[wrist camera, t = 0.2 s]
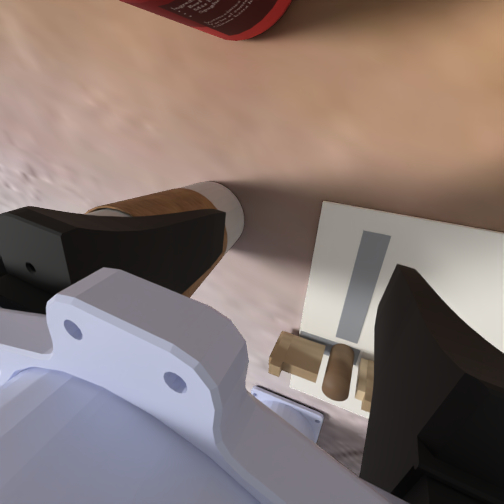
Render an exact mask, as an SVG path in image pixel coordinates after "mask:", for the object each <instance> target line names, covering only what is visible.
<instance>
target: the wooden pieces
mask: <svg viewBox="0 0 504 504" xmlns="http://www.w3.org/2000/svg"><path fill="white" fill-rule="evenodd" d="M324 350H325V345H322V344H319V343H316V342H313V341H310V340H307V339H304V338H302V337H299V336H296V335H294V334H291V333H288V332H284V331H282V332H281V334H280V336H279V338H278V340H277V342H276V344H275V346H274V349H273V351H272V353H271V355H270V357H269V372H268V373H270V374H273V375H275V376H278V377H279V375H280V373H281V371H282V370H283V371H285V372H288V373H291V374H293V375H296V376H298V377H301V378H304V379H306V380H309V381H311V382H314V383H316V380H317V376H318V373H319V369H320V365H321V362H322V358H323V354H324ZM354 356H355V354H354V351H353V350H352V348H350V346H348V345H346V344H342V343H340V344H335V345H333V346H332V348H331V351H330V355H329V359H328V363H327V367H326V371H325V375H324V379H323V383H322V392H323V393H324V395H325V396H327V397H328V398H329V399H331V400H334V401H345V400H346V399H347V398H348V396H349V390H350V383H351V376H352V370H353V363H354Z"/></svg>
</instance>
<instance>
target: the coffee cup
mask: <svg viewBox="0 0 504 504" xmlns="http://www.w3.org/2000/svg"><path fill="white" fill-rule="evenodd" d="M200 209H216V210H220V211H223V212H226V219H225V230H224V241H223V252H222V253H221V255H220V256H219V258H218V259H217V260H216V262H215V263H214V264H213V265H212V266H211V268H210V269H209V270H207V271H206V272H205V273H204V274H203V275H202V276H201V277H200V278H199V279H198V280H197V281H196V282H195V283H194V284H192V285H191V286H190V287H189V288H188V289H187V290H186V291H185V292H184V293H183V294H182V295H184V296H186V297H189V298H190V297H191V295H192V294H193V293H194V292H195V291H196V289H197V288H198V287H199V286H200V285H201V283H202V282H203V281H204V280H205V278H206V277H207V276H208V275H209V274H210V272H211V271H212V270H213V269H214V267H215V266H216V265H217V264H218V263H219V261H220V260H221V259H222V257H223V256H224V255H225V254H226V253H227V251H228V250H229V249H230V248H231V247H232V246H233V245H234V243H235V242H236V241H237V240H238V238H239V237H240V236H241V234H242V231H243V227H244V214H243V210H242V207H241V204H240V203H239V201H238V199H237V198H236V196H235V195H234V194H233V193H232V192H231V191H230V190H229V189H228V188H226V187H225V186H223V185H221V184H219V183H216V182H210V181H207V182H200V183H196V184H192V185H189V186H185V187H181V188H177V189H171V190H167V191H163V192H158V193H154V194H150V195H145V196H141V197H137V198H132V199H128V200H124V201H119V202H115V203H111V204H107V205H102V206H98V207H95V208H93V209H90V210H88V211H87V212H86V213H85V215H96V216H120V217H134V216H153V215H162V214H170V213H178V212H185V211H192V210H200ZM6 274H8V273H7V271H6V268H5V266H4V263H3V260H2V257H1V254H0V277H1V276H4V275H6Z"/></svg>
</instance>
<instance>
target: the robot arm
mask: <svg viewBox="0 0 504 504" xmlns="http://www.w3.org/2000/svg"><path fill="white" fill-rule="evenodd" d="M225 219H226V212H223V211H220V210H216V209H200V210H192V211H185V212H178V213H170V214H162V215H153V216H134V217H120V216H96V215H85V214H76V213H69V212H62V211H56V210H50V209H44V208H39V207H34V206H27V207H23V208H19V209H16V210H12V211H9V212H5V213H2V214H0V254H1V257H2V260H3V263H4V266H5V268H6V271H7V273H8V274H6V275H4V276H1V277H0V504H504V353H503V352H501V351H500V350H499V349H497V348H496V347H494V346H493V345H492V344H491V343H489V342H488V341H487V340H485V339H484V338H483V337H482V336H481V335H479V334H478V333H477V332H476V331H475V330H473V329H472V328H471V327H470V326H469V325H468V324H467V323H465V322H464V321H463V320H462V319H461V318H460V317H459V316H458V315H457V314H456V313H455V312H454V311H453V310H452V309H451V308H450V307H449V306H448V305H447V304H446V303H445V302H444V301H443V300H442V299H441V297H440V296H439V295H438V294H437V293H436V292H435V291H434V290H433V288H432V287H431V286H430V285H429V284H428V283H427V281H426V280H425V279H424V278H423V277H422V276H421V274H420V273H419V272H418V271H417V270H416V269H414V268H410V267H407V266H404V265H400V264H397V265H396V267H395V269H394V272H393V274H392V276H391V278H390V280H389V283H388V285H387V287H386V289H385V291H384V294H383V296H382V298H381V300H380V302H379V305H378V308H377V314H376V320H375V326H374V382H373V392H372V400H371V407H370V415H369V421H368V428H367V435H366V441H365V447H364V453H363V459H362V465H361V471H360V476H359V477H358V476H357V475H356V474H354V473H353V472H352V471H350V470H349V469H348V468H346V467H345V466H344V465H343V464H341V463H340V462H339V461H337V460H336V459H335V458H334V457H332V456H331V455H330V454H328V453H327V452H326V451H324V450H323V449H322V448H321V447H319V446H318V445H317V444H316V443H317V440H318V436H319V433H320V429H321V426H322V422H323V419H324V416H323V415H322V414H321V413H320V412H317V411H315V410H312V409H310V408H308V407H305V406H303V405H300V404H298V403H296V402H293V401H291V400H288V399H286V398H284V397H281V396H279V395H276V394H274V393H272V392H269V391H267V390H264V389H262V388H260V387H257V386H253V388H252V390H251V393H249V392H248V391H247V390H246V388H245V379H246V374H247V368H248V363H249V360H248V353H247V346H246V341H245V339H244V338H243V336H242V335H241V334H240V332H239V331H238V330H237V328H236V327H235V325H234V324H233V323H232V321H231V320H230V319H229V318H227V317H226V316H224V315H223V314H221V313H220V312H218V311H217V310H215V309H214V308H212V307H210V306H208V305H206V304H203V303H201V302H198V301H196V300H193V299H191V298H189V297H186V296H184V295H182V294H183V293H184V292H185V291H186V290H187V289H188V288H189V287H190V286H191V285H192V284H194V283H195V282H196V281H197V280H198V279H199V278H200V277H201V276H202V275H203V274H204V273H205V272H206V271H207V270H209V269H210V268H211V266H212V265H213V264H214V263H215V262H216V260H217V259H218V258H219V256H220V255H221V253H222V252H223V241H224V230H225Z"/></svg>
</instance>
